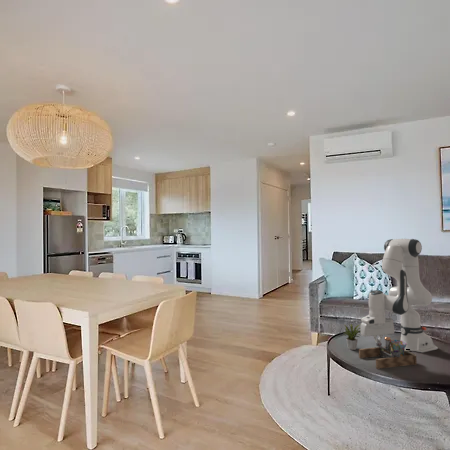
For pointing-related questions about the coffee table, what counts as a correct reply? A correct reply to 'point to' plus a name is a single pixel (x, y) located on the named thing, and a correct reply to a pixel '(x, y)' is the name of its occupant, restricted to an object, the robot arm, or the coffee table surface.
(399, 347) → the mug
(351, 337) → the house plant
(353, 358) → the coffee table surface
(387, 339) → the ram
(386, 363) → the tray
